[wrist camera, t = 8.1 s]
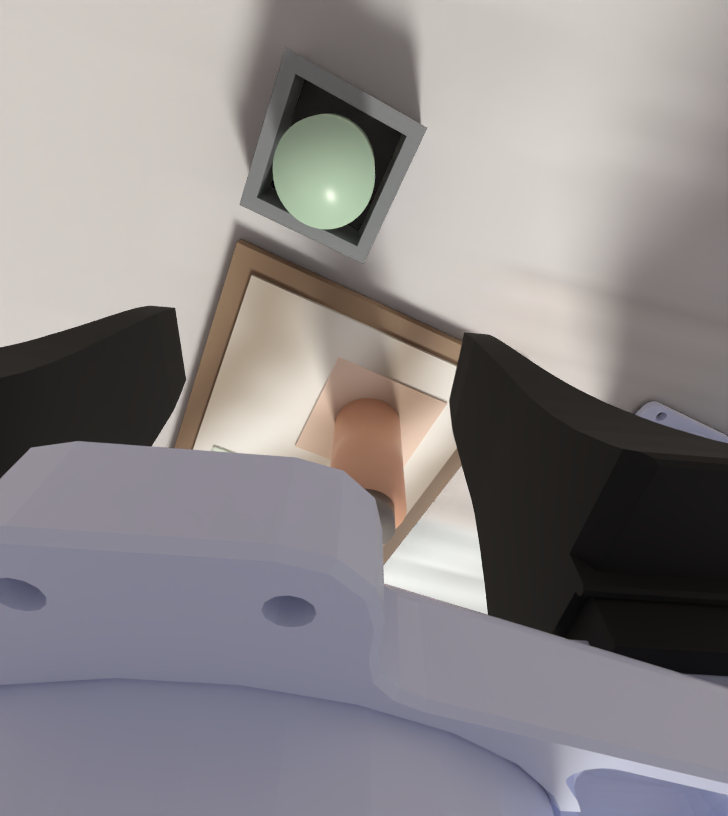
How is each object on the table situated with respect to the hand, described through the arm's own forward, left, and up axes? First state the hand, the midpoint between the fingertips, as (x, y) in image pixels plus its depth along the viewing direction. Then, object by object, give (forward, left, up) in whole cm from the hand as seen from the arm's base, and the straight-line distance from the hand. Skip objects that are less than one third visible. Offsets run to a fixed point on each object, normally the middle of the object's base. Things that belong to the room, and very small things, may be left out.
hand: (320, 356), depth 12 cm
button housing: (+2, -3, -10) cm, 11 cm away
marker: (-5, +8, -9) cm, 13 cm away
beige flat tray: (-3, +12, -10) cm, 16 cm away
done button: (+2, -3, -8) cm, 9 cm away
